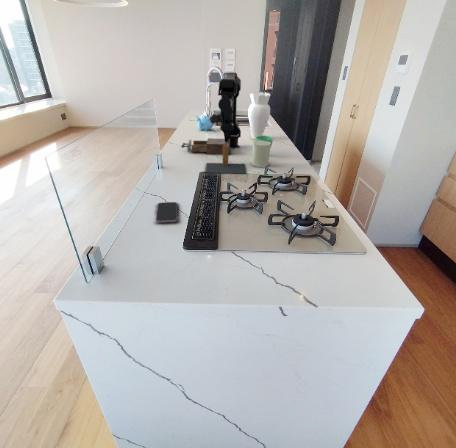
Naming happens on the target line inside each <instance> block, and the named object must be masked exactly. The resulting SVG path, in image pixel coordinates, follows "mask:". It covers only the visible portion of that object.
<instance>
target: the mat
mask: <svg viewBox="0 0 456 448" xmlns="http://www.w3.org/2000/svg"><path fill="white" fill-rule="evenodd" d="M205 174H223V175H224V174H225V175H227V174H228V175H229V174H231V175H237V174H238V175H247V174H246V166H245V163H228V165H223V162H207V163H206V168H205Z"/></svg>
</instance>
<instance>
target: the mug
mask: <svg viewBox="0 0 456 448" xmlns="http://www.w3.org/2000/svg"><path fill="white" fill-rule="evenodd" d="M255 141H267V142H270V143H271V145H270V149H271V148H272V145H273V141H274V138H273V137H272V136H268V135H265V134H263V136H258V137H256V140H255Z"/></svg>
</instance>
